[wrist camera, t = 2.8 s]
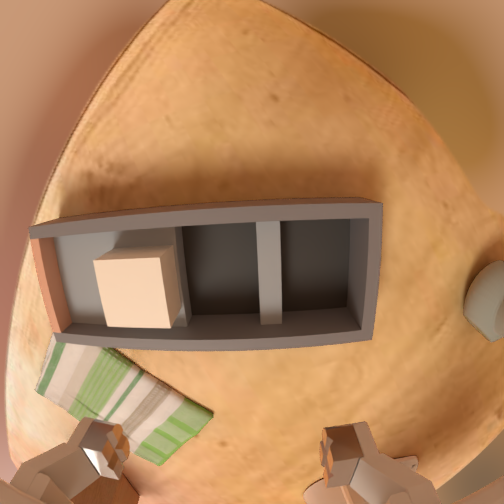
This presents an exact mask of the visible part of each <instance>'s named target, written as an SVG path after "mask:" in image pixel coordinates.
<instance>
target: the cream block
mask: <svg viewBox="0 0 504 504" xmlns="http://www.w3.org/2000/svg"><path fill="white" fill-rule="evenodd" d="M93 263H94V268H95V273H96V279H97V283H98V288H99V293H100V297H101V302H102V306H103V310H104V314H105V318H106V322H107V326H109V327H133V328H171V327H172V325H173V323H174V321H175V319H176V317H177V315H178V313H179V311H180V309H181V303H180V296H179V289H178V281H177V274H176V266H175V258H174V249H173V245H166V246H148V247H131V248H114V249H112V250H110V251H108V252H107V253H105V254H103V255H101V256H100V257H98V258H96V259H95V260H93Z"/></svg>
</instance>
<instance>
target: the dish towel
mask: <svg viewBox="0 0 504 504" xmlns="http://www.w3.org/2000/svg"><path fill="white" fill-rule="evenodd" d="M35 391H36V392H37V393H38V394H40V395H42V396H44V397H45V398H47V399H49V400H50V401H52V402H53V403H54V404H56V405H58V406H60V407H61V408H63V409H64V410H66V411H67V412H68V413H69V414H71V415H72V416H73V417H74V418H76V419H77V420H78V421H81V419H82V418H84V417H90V418H94V419H99V420H103V421H107V422H112V423H117V424H120V425H121V426H122V428H123V432H122V434H123V435H124V436H126V437H127V439H128V441H129V445H130V452H132V453H134V454H136V455H137V456H139V457H141V458H143V459H145V460H148V461H150V462H152V463H154V464H156V465H157V466H160V465H162V464H163V463H164V462H165V461H166V460H167V459H168V458H169V457H170V456H171V455H172V454H173V453H174V452H175V451H176V450H177V449H178V448H180V447H181V446H182V445H183V444H184V443H185V442H186V441H188V440H189V439H191V438H192V437H193V436H195V435H197V434H198V433H199V432H200V431H201V429H202V428H203V427H204V426H205V425H206V424H207V423H208V422H209V420H211V419H212V418H213V413H211V412H210V411H208V410H206V409H205V408H203V407H202V406H200V405H198V404H196V403H194V402H192V401H191V400H189V399H187V398H186V397H184V396H183V395H181V394H179V393H178V392H176V391H175V390H173V389H172V388H170V387H169V386H167V385H166V384H165V383H163V382H161V381H160V380H158V379H156V378H155V377H153V376H151V375H150V374H148V373H147V372H145V371H143V370H142V369H140V368H139V367H138V366H136V365H135V364H134V363H132V362H131V361H130V360H128V359H127V358H125V357H124V356H123V355H121V354H120V353H119V352H117V351H116V350H114V349H113V348H110V347H98V346H88V345H78V344H70V343H62V342H56V339H55V336H54V333H53V334H52V336H51V340H50V343H49V346H48V350H47V353H46V357H45V360H44V364H43V367H42V372H41V376H40V378H39V381H38V383H37V385H36V388H35Z"/></svg>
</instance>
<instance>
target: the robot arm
mask: <svg viewBox="0 0 504 504" xmlns="http://www.w3.org/2000/svg"><path fill="white" fill-rule="evenodd" d="M122 432H123V428H122V426H121V425H120V424H117V423H112V422H107V421H103V420H99V419H94V418H90V417H84V418H82V419H81V421H80V423H79V424H78V426H77V427H76V429H75V431H74V432H73V434H72V436H71V437H70V439H69V441H68V442H67V443H62V444H60V445H58V446H56V447H54V448H53V449H51V450H49V451H47V452H45V453H43V454H41V455H39V456H37V457H34V458H32V459H30V460H28V461H26V462H24V463H22V465H21V466H20V468H19V469H18V471H17V472H16V474H15V476H14V477H13V479H12V480H11V482H10V484H9V483H7V482H6V481H4V480H2V479H1V478H0V504H74V503H73V502H72V501H71V500H70V499H72V498H73V497H74V496H76V495H77V494H78V493H80V492H81V491H82V490H84V489H85V488H86V487H88V486H89V485H90V484H91V483H93V482H94V481H95V480H97V479H98V478H99V477H100V476H104V477H108V478H113V479H117V480H119V479H120V477H121V474H122V472H123V469H124V466H123V464H122V462H124V461H125V460H127V459H128V456H129V452H130V445H129V441H128V439H127V437H126V436H124V435H123V434H122ZM322 438H323V440H322V441H321V442H320V461H321V465H322V466H323V467H325V468H324V473H323V476H324V479H322V480H320V481H318V482H316V483H315V484H313V485H312V486H310V487H309V488H308V489H307V490H306V491H305V492H304V495H303V498H304V500H305V502H306V504H442V503H441V501H440V499H439V497H438V495H437V493H436V490H435V488H434V486H433V484H432V482H431V481H430V480H428V479H426V478H425V477H423V476H421V475H419V474H418V473H416V470H417V467H418V459H417V457H416V456H409V457H404V458H398V459H392V458H391V457H389V456H388V455H386V454H384V453H381V454H379V451H378V449H377V446H376V444H375V441H374V439H373V436H372V434H371V431H370V429H369V426H368V424H367V423H366V422H365V421H364V422H358V423H353V424H345V425H339V426H333V427H326V428H323V430H322ZM452 504H504V475H503V476H502V477H500V478H498V479H497V480H495V481H493V482H492V483H490V484H488V485H487V486H485V487H483V488H481V489H479V490H478V491H476V492H474V493H472V494H470V495H468V496H466V497H464V498H462V499H460V500H458V501H456V502H454V503H452Z"/></svg>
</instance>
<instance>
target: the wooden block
mask: <svg viewBox="0 0 504 504" xmlns="http://www.w3.org/2000/svg"><path fill="white" fill-rule="evenodd" d="M70 500H71V501H72V502H73V503H74V504H138V501H139V495H138V494H137V492H136V491H135V490H134V488H133V487H132V486H131V484H130V483H129V482H128V480H127V479H126V478H125V476H124V475H123V474H121V477H120V479H119V480H117V479H113V478H108V477H104V476H100V477H99V478H98V479H97V480H95V481H94V482H93V483H91V484H90V485H89V486H88V487H86V488H85V489H84V490H82V491H81V492H80V493H78V494H77V495H76V496H74V497H73V498H72V499H70Z"/></svg>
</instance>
